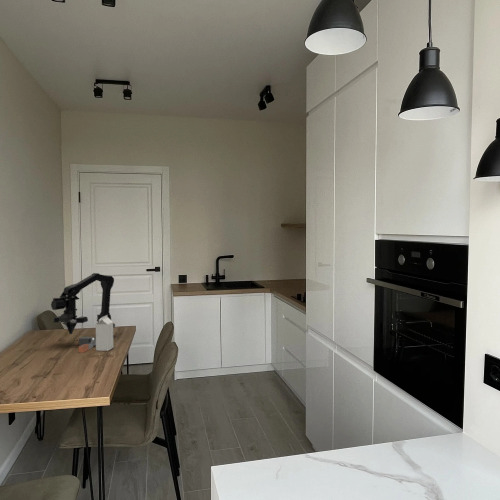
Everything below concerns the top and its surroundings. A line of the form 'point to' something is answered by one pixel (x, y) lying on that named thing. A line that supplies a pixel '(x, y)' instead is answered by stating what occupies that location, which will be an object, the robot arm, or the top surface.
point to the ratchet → (88, 345)
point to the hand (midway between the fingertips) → (70, 333)
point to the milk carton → (104, 334)
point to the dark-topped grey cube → (84, 340)
